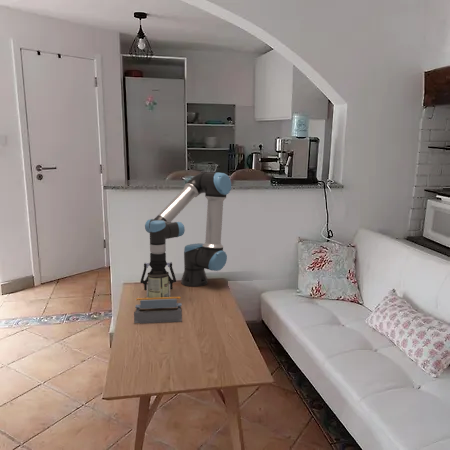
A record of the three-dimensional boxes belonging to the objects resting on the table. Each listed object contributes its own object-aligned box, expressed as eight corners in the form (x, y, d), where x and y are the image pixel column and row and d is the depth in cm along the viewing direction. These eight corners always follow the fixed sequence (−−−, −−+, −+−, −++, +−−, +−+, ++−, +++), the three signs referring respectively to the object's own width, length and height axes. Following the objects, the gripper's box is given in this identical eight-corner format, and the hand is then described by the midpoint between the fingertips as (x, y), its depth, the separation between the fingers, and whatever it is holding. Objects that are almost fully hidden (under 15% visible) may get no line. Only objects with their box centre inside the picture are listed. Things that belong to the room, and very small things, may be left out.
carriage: (181, 305, 210) (181, 295, 209) (181, 307, 207) (181, 297, 206) (135, 306, 207) (135, 297, 206) (135, 309, 204) (135, 299, 203)
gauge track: (180, 307, 211) (180, 297, 211) (181, 321, 193) (181, 311, 192) (136, 309, 209) (136, 299, 208) (134, 323, 190) (133, 313, 190)
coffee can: (151, 296, 219) (150, 269, 217) (171, 297, 218) (170, 270, 216) (145, 303, 209) (144, 275, 207) (166, 304, 208) (165, 276, 205)
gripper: (181, 250, 214) (181, 292, 218) (134, 251, 212) (136, 294, 215) (181, 253, 207) (181, 297, 211) (133, 254, 204) (134, 299, 208)
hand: (158, 296), depth 213 cm, fingers closed on coffee can, 10 cm apart
